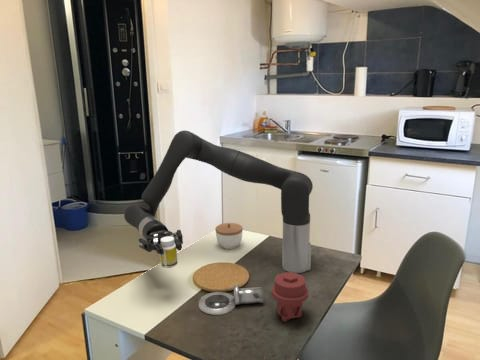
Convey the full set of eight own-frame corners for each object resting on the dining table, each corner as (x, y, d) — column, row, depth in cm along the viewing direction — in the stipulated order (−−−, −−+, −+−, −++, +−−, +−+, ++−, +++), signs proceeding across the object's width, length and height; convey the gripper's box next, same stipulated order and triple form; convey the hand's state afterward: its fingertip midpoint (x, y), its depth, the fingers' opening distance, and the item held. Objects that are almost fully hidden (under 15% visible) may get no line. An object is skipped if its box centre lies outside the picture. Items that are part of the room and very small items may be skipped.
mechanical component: (271, 304, 114) (306, 306, 113) (271, 325, 104) (308, 327, 103) (272, 266, 111) (307, 267, 110) (271, 284, 101) (310, 286, 100)
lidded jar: (248, 245, 155) (248, 223, 152) (229, 254, 147) (228, 231, 145) (229, 238, 162) (228, 217, 160) (210, 246, 154) (209, 224, 152)
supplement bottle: (180, 262, 118) (178, 236, 116) (172, 269, 114) (170, 242, 111) (166, 260, 119) (164, 234, 117) (158, 267, 115) (156, 241, 113)
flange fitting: (260, 291, 121) (259, 275, 119) (265, 312, 110) (265, 294, 109) (198, 295, 119) (198, 279, 118) (198, 316, 109) (197, 298, 107)
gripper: (130, 224, 123) (145, 243, 108) (173, 215, 129) (193, 232, 115) (132, 246, 125) (148, 267, 110) (174, 236, 131) (194, 255, 117)
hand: (171, 249), depth 113 cm, fingers closed on supplement bottle, 4 cm apart
